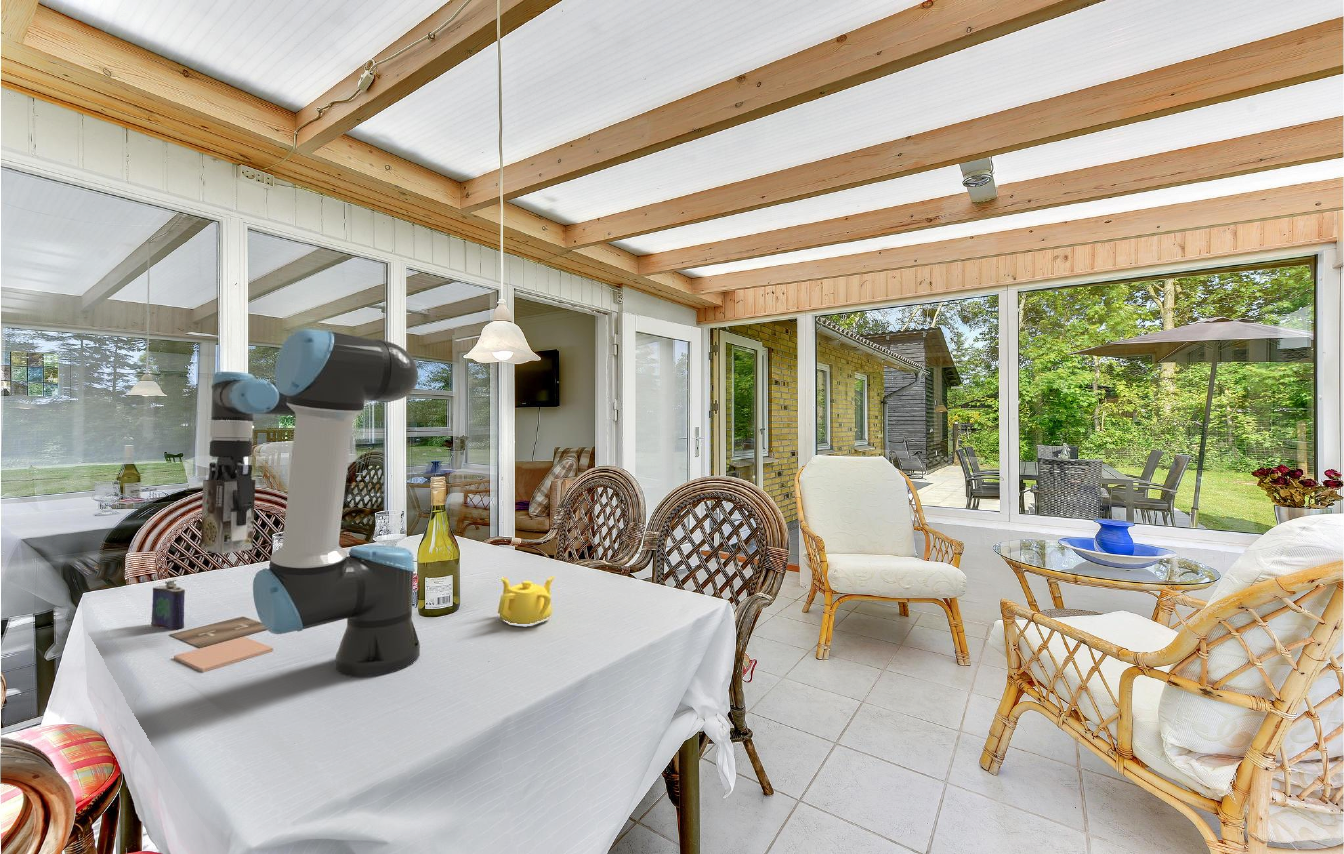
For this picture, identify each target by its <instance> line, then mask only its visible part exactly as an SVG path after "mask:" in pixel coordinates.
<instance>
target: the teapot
mask: <svg viewBox="0 0 1344 854" xmlns="http://www.w3.org/2000/svg"><path fill="white" fill-rule="evenodd" d="M555 578H556V577H555V575H553V576H551V577H548V578H547V579H546V581H545V583H544V585H539V584H536V583H533V581H530V580H524V581H522V582H521V583H519V584H515V585H513V586H511V585H510V582H509V579H507V578H506V577H500V579H501V581H502V583H503V591H502V594H501V596H500V600H499V605H498V609H497V610H498V611H497V614H499V616H500V619H501V618H502V619H503V620H505V621H508V622H510V623H517V624H530V623H535V622H537V621H541V620H543V619H546V618H547V617H549V616H550V617H551V615H552V604H551V603H552V602H551V601H552V597H551V585H552V582H553V580H554V579H555ZM550 617H549V618H550ZM502 619H501V620H502ZM503 620H502V621H503Z"/></svg>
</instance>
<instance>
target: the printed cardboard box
mask: <svg viewBox="0 0 1344 854" xmlns="http://www.w3.org/2000/svg"><path fill="white" fill-rule="evenodd" d="M256 481H257V480H256V479H252V488H253V501H254V502H255V499H256V498H255V497H256ZM233 490H237V481H236V480H235V481H225V480H221V479H219V480H208V479H203V480H202V499H201V500H202V501H201V502H202V503H201V504H202V505H201V529H200V531H201V532H200V550H201V551H206V552H212V553H216V554H217V553H218V554H222V555H223V554H230V553H237V552H242V551H250V550H253V543H254V542H253V541H254V540H253V539H254V538H253V537H254V521H255V520H254V519H255V518H254V516H255V506H254V507H253V508H250V509H249V510H248V511H247V533H246V539H244V540H237V541H230V538H231V514H232V512H231V511H230V510H231V509H233V508H234V506H233Z"/></svg>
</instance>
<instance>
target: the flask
mask: <svg viewBox="0 0 1344 854" xmlns="http://www.w3.org/2000/svg"><path fill="white" fill-rule="evenodd" d="M175 582H177V579H173V580H171V579H170V580H168V581H164V584H165V585H157V586H154V587H152V605H151V606H152V607H151V622H150V625H151V626H152V627H157V628H159V627H163V628H162V629H165V630H170V631H178V630H179V629H180V630H183V629H184V628H185V593H186V592H185V591H186V590H185V589H184V588H182V587H181V586H178V585H177V583H175Z"/></svg>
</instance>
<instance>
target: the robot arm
mask: <svg viewBox="0 0 1344 854" xmlns="http://www.w3.org/2000/svg"><path fill="white" fill-rule="evenodd" d="M274 367H275V368H274V378H275V380H274V381H272V380H265V379H261V378H255V376H254V375H253V374H251V373H246V372H239V371H217V372H215V373H214V374H213V377H212V378H213V379H212V384H211V386H210V388H211V413H210V416H211V417H210V423H209V425H210V426H209V427H210V428H209V437H210V438H211V439H212V440H211V441H209V457H214V458H217V461H214V462H212V461H211V462H209V474H208V479H207V480H219V479H221V480H225V481H235V480H236V481H237V490H233V506H234V508H233V509H231V510H230V511H231V512H232V514H231V538H230V541H237V540H244V539H246V533H247V511H248V510H249V509H250V508H253V507H254V508H255V501H253V488H252V480H253V479H252V478H253V477H252V474H253V465H252V464H245V459H244V458H247V457H251V456H252V453H253V442H252V441H251V440H249V439H252V438H253V430H255V426H254V415H268V416H269V415H271V416H272V415H275V416H277V415H278V416H295V419H294V420H295V421H294V431H293V438H292V439H293V441H292V451H291V457H290V458H291V459H290V460H291V461H290V471H289V476H288V477H289V480H288V489H287V497H286V498H287V499H286V505H285V506H286V508H285V516H284V517H285V518H284V526H283V536H282V544H281V547H280V548H278V549H277V550H275V551H274V552H273V553H271V555H270V561H269V567H268V568H266V567H265V568H262V569H261V570H258V571H257V572H256V573H255V575H254V578H253V583H252V593H253V594H252V596H253V601H254V606H255V611H256V613H257V616H258V619H259V622H261V623H262V624H263V626H264V627H265V628H266V629H267V630H266V631H268V633H270V634H273V635H282V634H283V635H284V634H288V633H293V632H303V630H307V629H312V628H314V627H318V626H322V625H327V624H331V623H335V622H339V621H341V620H343V621H344V620H346V619H347V620H346V628H345V632H344V633H343V637H341V638H342V639H341V641H340V644H339V647H338V650H337V652H336V654H335V659H334V668H335V671H336V672H337V673H339V674H341V675H344V676H348V677H373V676H378V675H379V676H380V675H384V674H388V673H389V674H390V673H392V672H396V671H399V670H403V669H404V667H405V668H406V667H408V665H409V666H411V665H412V664H414V663H415V662H416V661H417V660H418V659H419V658H418V657H420V651H421V649H420V648H421V645H420V644H421V643H420V640H419V637H418V635H417V634H418V633H417V631H416V627H415V624H414V622H413V619H412V618H413V596H414V595H413V593H414V591H413V590H414V572H415V562H414V554H413V552H412V551H411V550H410V549H407V548H405V547H401V546H396V545H395V546H393V545H383V544H382V545H381V544H367V545H366V544H363V545H356V546H352V547H351V548H350V550H349V551H348V552H347V551H346V550H345V549H344V548H343V547H341V545H340V537H341V536H340V535H341V528H342V527H341V525H342V520H343V519H342V516H343V507H344V502H345V501H344V500H345V493H346V492H345V490H346V483H347V482H346V481H347V473H348V463H349V457H350V456H349V455H350V447H351V446H350V445H351V436H352V430H353V429H352V428H353V420H354V418H356V417H357V416H359V415H360V414H361V413H363V411H364V406H365V404H367V403H372V402H377V403H383V404H384V403H391V402H395V401H399V400H401V399H404V398H406V397H408V396H409V395H410V394H411V393H412V392H413V391H414V389H415V388H416V386H417V385H418V384H417V383H418V379H419V370H418V367H417V364H416V361H415V360H414V358H413V356H411V354H409V352H408V351H407V350H406V349H404V348H403V347H402V346H399V344H395V343H394V342H390V341H387V340H383V339H373V338H368V337H362V336H357V335H352V334H351V335H350V334H346V333H341V332H334V331H330V330H326V329H325V330H323V329H311V328H309V329H308V328H302V329H298V330H296V331H294V332H293V333H291V334H290V335H289V336H288V337H287V338H286V340H285V341H284V343H283V344H282V345H281V347H280V350H279V353H278V355H277V359H276V362H275V365H274ZM414 661H415V662H414ZM413 662H414V663H413ZM411 663H412V664H411ZM410 664H411V665H410Z"/></svg>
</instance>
